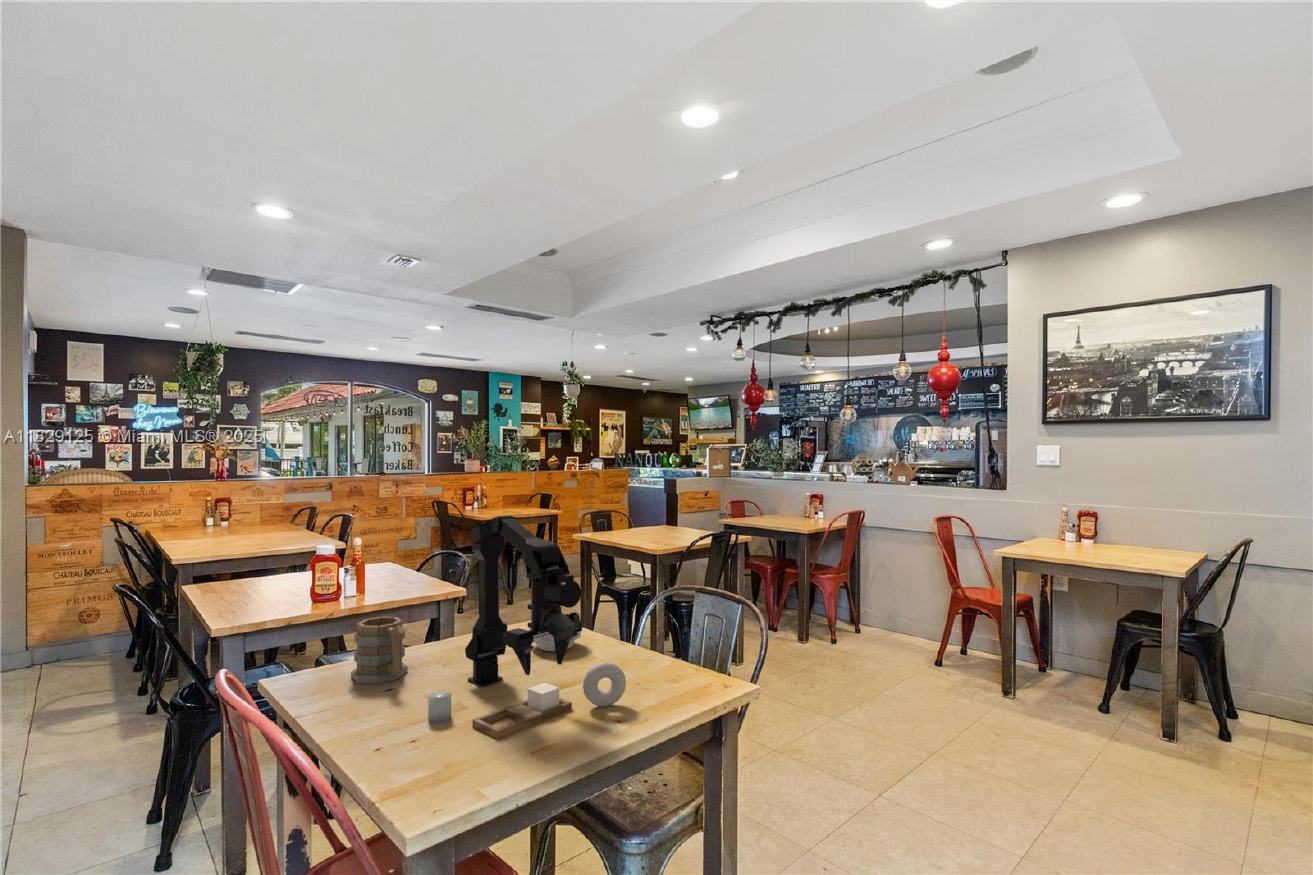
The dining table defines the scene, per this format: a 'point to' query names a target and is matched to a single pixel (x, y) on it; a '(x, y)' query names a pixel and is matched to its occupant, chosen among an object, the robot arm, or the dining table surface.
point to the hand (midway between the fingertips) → (544, 669)
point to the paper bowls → (551, 642)
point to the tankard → (379, 650)
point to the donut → (612, 693)
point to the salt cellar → (439, 706)
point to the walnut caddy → (518, 717)
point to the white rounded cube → (543, 697)
